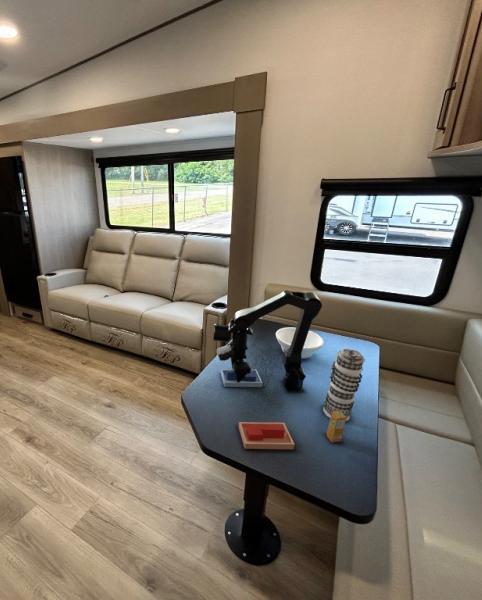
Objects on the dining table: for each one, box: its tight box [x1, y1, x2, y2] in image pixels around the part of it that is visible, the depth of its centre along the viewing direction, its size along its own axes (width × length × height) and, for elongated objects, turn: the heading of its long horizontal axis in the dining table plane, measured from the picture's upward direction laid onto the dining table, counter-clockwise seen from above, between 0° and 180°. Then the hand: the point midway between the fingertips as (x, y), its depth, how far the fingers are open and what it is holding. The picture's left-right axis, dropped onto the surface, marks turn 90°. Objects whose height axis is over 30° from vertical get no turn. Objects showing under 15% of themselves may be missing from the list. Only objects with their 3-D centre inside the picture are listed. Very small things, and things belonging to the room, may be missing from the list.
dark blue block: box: [227, 369, 256, 382], centre depth 130 cm, size 11×4×4 cm, turn 89°
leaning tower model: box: [322, 348, 366, 422], centre depth 108 cm, size 9×9×25 cm
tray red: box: [238, 421, 295, 450], centre depth 102 cm, size 15×9×2 cm, turn 89°
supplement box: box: [326, 411, 347, 443], centre depth 100 cm, size 3×3×10 cm
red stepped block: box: [246, 426, 285, 441], centre depth 101 cm, size 11×4×4 cm, turn 89°
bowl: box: [275, 326, 325, 359], centre depth 151 cm, size 21×21×8 cm
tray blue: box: [220, 368, 263, 388], centre depth 131 cm, size 15×9×2 cm, turn 89°
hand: (235, 375), depth 130 cm, fingers open, 9 cm apart
